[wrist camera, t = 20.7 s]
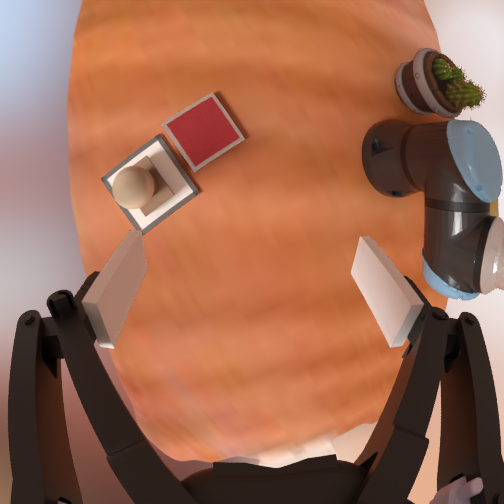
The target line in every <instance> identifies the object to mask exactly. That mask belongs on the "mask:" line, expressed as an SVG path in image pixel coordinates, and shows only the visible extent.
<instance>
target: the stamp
mask: <svg viewBox="0 0 504 504" xmlns="http://www.w3.org/2000/svg"><path fill="white" fill-rule="evenodd" d="M112 192H113V196H114V198H115V200H116V202H117V203H118V204H119V205H121V206H122V207H124V208H126V209H138V208H140V210H141V211H142V213H143V214H144V215H145V217H146V216H148V215H149V214H150V213H152V212H153V211H154V210H155V209H157V208H158V207H159V206H161V205H162V204H163V203H165V202H166V201H167V200H169V199H170V198H172V197H173V196H174V193H173V192H172V190H171V189H170V187H169V186H168V185H167V183H166V182H165V180H164V179H163V177H162V176H161V174H160V173H159V172H158V170H157V169H156V167H155V166H154V164H153V163H152V161H151V160H150V158H149V157H148V156H147V155H146V156H145V157H144V158H142V159H141V160H140V161H138V162H137V163H136V164H134V165H133V166H129V167H126V168H124V169H123V170H121V171H120V172H119V173H118V174H117V175H116V177H115V179H114V181H113V185H112Z"/></svg>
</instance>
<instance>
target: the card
mask: <svg viewBox="0 0 504 504" xmlns="http://www.w3.org/2000/svg"><path fill="white" fill-rule="evenodd" d="M146 155H147V156H148V157H149V158H150V160H151V161H152V163H153V164H154V166H155V167H156V169H157V170H158V172H159V173H160V174H161V176H162V177H163V179H164V180H165V182H166V183H167V185H168V186H169V187H170V189H171V190H172V192H173V193H174V196H173V197H172V198H170V199H169V200H167V201H166V202H165V203H163V204H162V205H161V206H159V207H158V208H157V209H155V210H154V211H153V212H152V213H150V214H149V215H148V216H146V217H145V215H144V214H143V213H142V211H141V210H140V208H138V209H126V208H124V207H122V206H121V205H119V204H118V203H117V204H118V205H119V206H120V208H121V209H122V211H123V212H124V214H125V215H126V216H127V218H128V219H129V221H130V222H131V223H132V225H133V226H134V227H135V229H136V230H142V236H143V235H144V234H145V233H146V232H148V231H149V230H150V229H152V228H153V227H154V226H156V225H157V224H158V223H159V222H161V221H162V220H163V219H165V218H166V217H167V216H169V215H170V214H171V213H173V212H174V211H175V210H177V209H178V208H180V207H181V206H182V205H184V204H185V203H186V202H188V201H189V200H191V199H192V198H193V197H195V196H196V195H198V194H199V193H200V192H199V191H198V190H197V188H196V187H195V185H194V184H193V182H192V181H191V179H190V178H189V177H188V175H187V174H186V172H185V171H184V169H183V168H182V166H181V165H180V164H179V162H178V161H177V159H176V158H175V156H174V155H173V153H172V152H171V150H170V149H169V148H168V146H167V145H166V143H165V142H164V140H163V139H162V137H161V136H160V134H158V135H157V136H156V137H154V138H153V139H151V140H150V141H149V142H147V143H146V144H144V145H143V146H142V147H140V148H139V149H138V150H136V151H135V152H134V153H132V154H131V155H130V156H128V157H127V158H126V159H125V160H123V161H122V162H121V163H119V164H118V165H117V166H116V167H115V168H113V169H112V170H111V171H110V172H108V173H107V174H106V175H105V176H104V177H102V178H101V180H102V182H103V183H104V185H105V186H106V188H107V189H108V191H109V192H110V194H111V195H112V196H113V192H112V185H113V181H114V179H115V177H116V175H117V174H118V173H119V172H120V171H121V170H123V169H124V168H126V167H129V166H133V165H134V164H136V163H137V162H138V161H140V160H141V159H142V158H144V157H145V156H146ZM113 198H114V196H113ZM114 199H115V198H114ZM115 201H116V200H115Z"/></svg>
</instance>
